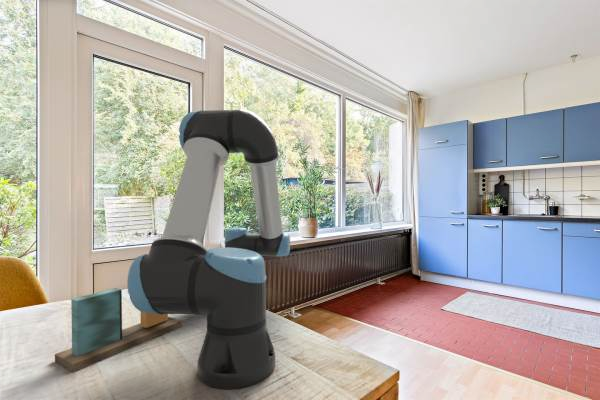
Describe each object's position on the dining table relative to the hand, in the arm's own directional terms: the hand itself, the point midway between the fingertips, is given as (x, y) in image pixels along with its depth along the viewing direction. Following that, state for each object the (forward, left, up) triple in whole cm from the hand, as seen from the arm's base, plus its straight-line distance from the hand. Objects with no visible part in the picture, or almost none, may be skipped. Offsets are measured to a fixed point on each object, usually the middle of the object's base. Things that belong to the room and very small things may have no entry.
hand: (143, 302), depth 77 cm
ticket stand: (-2, +4, -8) cm, 9 cm away
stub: (+1, -3, -6) cm, 7 cm away
